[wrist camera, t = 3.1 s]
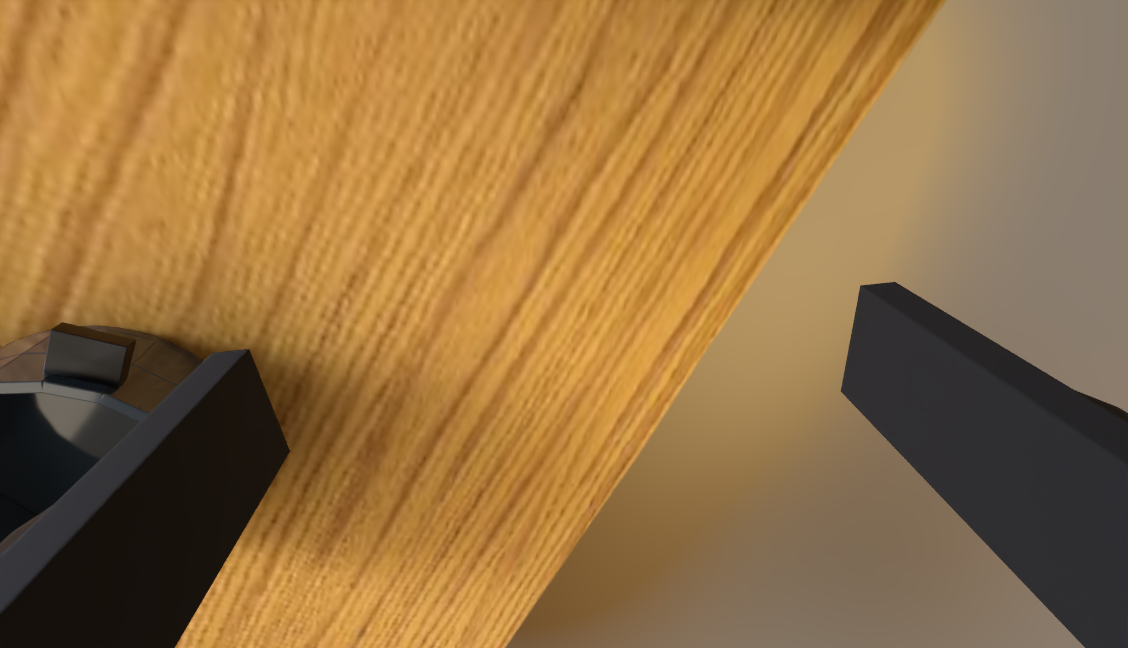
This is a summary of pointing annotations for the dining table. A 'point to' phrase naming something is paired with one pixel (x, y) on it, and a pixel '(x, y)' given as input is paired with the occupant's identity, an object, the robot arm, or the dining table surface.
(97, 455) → the pot
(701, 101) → the dining table surface
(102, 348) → the pot handles
